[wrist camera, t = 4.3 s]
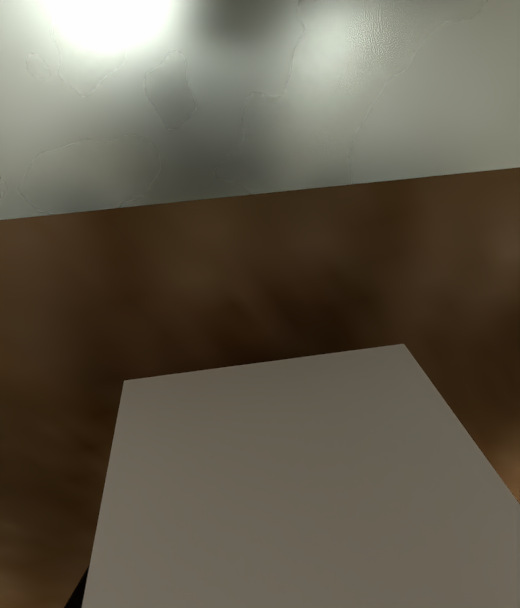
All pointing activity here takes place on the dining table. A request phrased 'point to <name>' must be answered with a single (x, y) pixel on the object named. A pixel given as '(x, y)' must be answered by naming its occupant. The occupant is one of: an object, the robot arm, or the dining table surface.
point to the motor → (248, 97)
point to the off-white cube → (301, 492)
